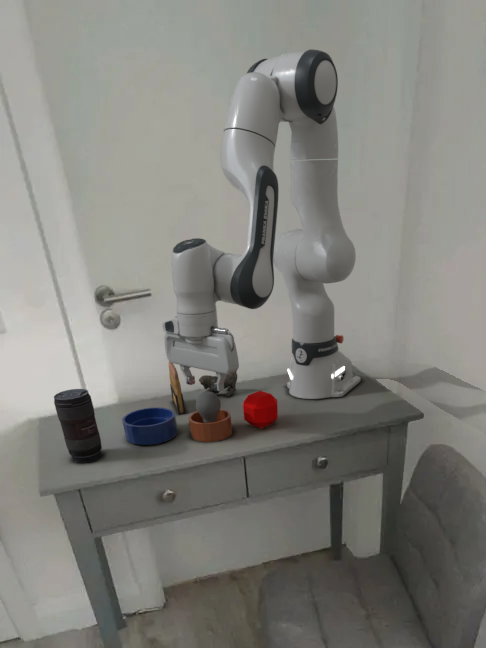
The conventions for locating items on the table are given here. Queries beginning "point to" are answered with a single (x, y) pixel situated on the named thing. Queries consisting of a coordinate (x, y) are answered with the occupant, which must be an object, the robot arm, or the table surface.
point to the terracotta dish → (210, 427)
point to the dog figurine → (210, 380)
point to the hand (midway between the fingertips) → (204, 387)
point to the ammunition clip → (176, 389)
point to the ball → (260, 409)
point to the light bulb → (208, 406)
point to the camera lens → (78, 424)
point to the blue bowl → (150, 426)
